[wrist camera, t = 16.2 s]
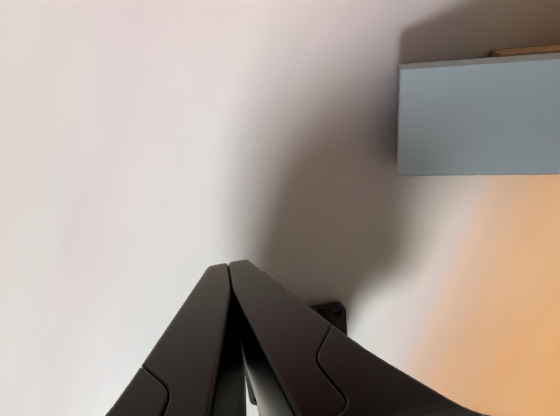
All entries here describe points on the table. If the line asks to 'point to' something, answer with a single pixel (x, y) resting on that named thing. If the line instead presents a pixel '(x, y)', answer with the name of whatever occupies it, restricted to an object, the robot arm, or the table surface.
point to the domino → (480, 116)
